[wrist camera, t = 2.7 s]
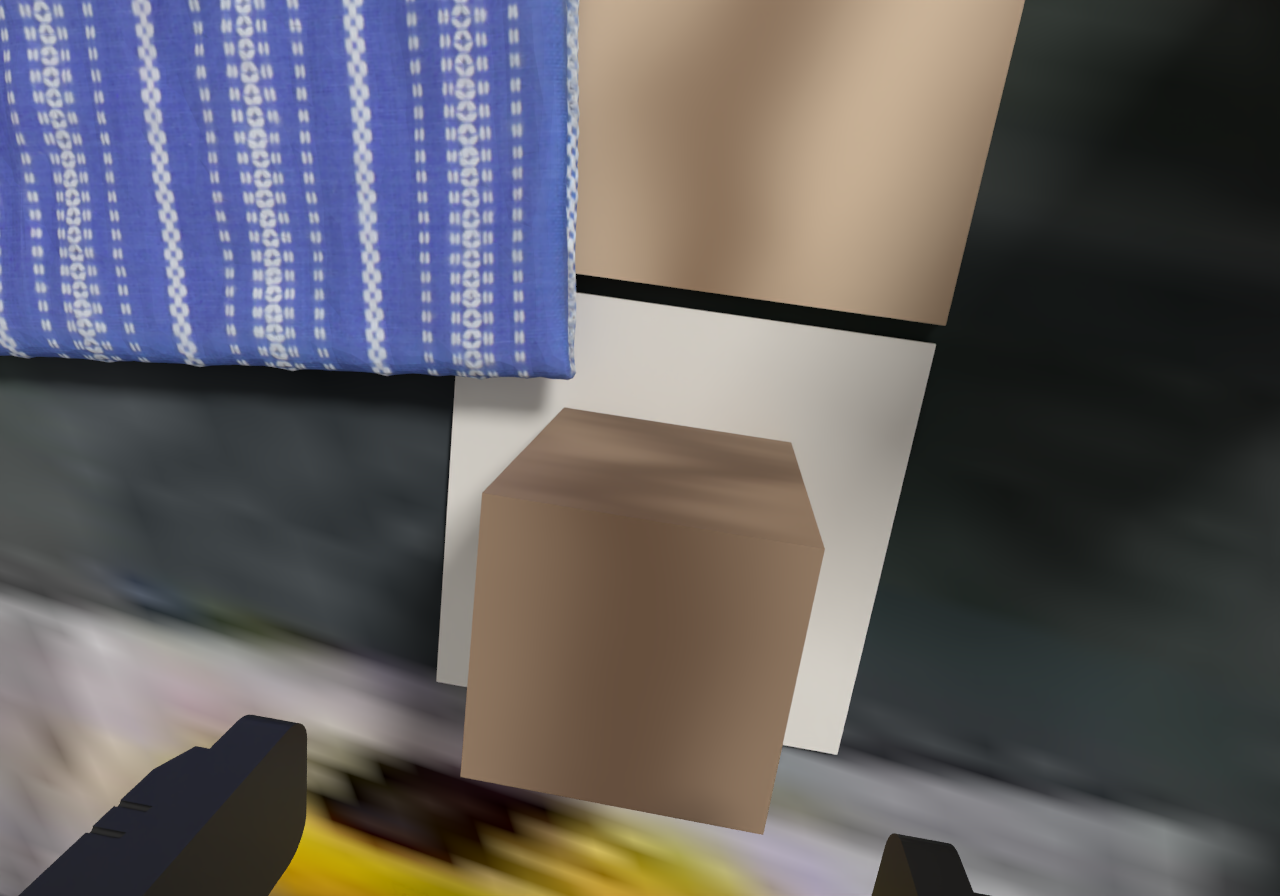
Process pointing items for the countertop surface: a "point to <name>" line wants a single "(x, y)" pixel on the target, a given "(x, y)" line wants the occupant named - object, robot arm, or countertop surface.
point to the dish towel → (291, 184)
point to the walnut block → (641, 617)
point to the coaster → (788, 146)
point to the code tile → (727, 402)
